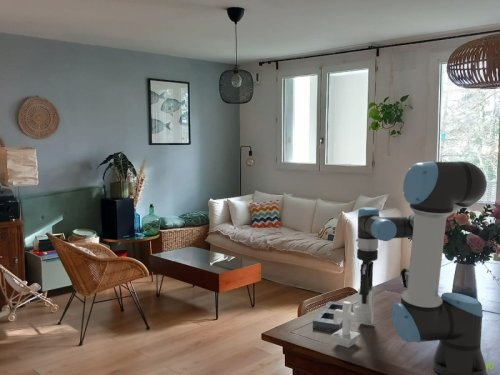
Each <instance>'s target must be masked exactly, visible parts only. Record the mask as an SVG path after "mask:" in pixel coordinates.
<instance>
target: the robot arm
mask: <svg viewBox="0 0 500 375" xmlns="http://www.w3.org/2000/svg"><path fill="white" fill-rule="evenodd" d="M487 183H488V182H487V177H486V175H485V173H484V172H483V171H482V169H481V168H479V166H477V165H475V164H474V163H471V162H468V161H424V162H416V163H414V164H412V165H411V167H410V168H408V170H407V171H406V173H405V175H404V179H403V185H402V192H403V197H404V198H405V201H406V202H407V203H409V209H410V210H411V211H413V213H411V214H410V215H407V216H389V217H386V216H385V217H383V216H380V213H379V212H380V211H379V209H378V208H376V207H372V206H371V207H370V206H369V207H368V206H367V207H366V206H364V207H363V206H362V207H360V208H359V209H358V211H357V212H358V213H357V214H358V215H357V238H356V239H355V241H356V242H357V249H356V258H357V259H358V260H359V261H362V264H360V270H359V272H360V280H359V282H360V284H359V287H360V293H359V295H361V311H362V312H368V304H369V295H368V288H369V286H372V287H374V286H373V278H374V276H373V275H374V261H377V260H378V259H379V257H378V255H379V251H378V248H379V241H381V242H382V241H383V242H389V241H392V240H393V239H407V238H410V239H411V247H410V257H409V258H410V259H409V268H408V269H409V277H408V287H407V288H406V290H404V291H402V293H401V295H400V302H399V301H397V302H395V303H394V304H393V305H392V307H391V318H392V322H393V323H392V324H393V327H394V329H395V331H396V333H397V335H398V336H399V337H400V339H401V340H403V341H404V342H406V343H417V344H419V343H421V342H422V343H423V342H436V341H439V342H438V344H437V347H436V350H435V352H434V355H433V357H432V368H433V369H434V371H435V372H436V373H438V374H440V375H486V374H487V366H486V362H485V359H484V355H483V353H482V350H481V348H482V345H481V344H482V328H483V327H482V326H483V317H484V316H483V314H484V313H483V305H482V303H481V301H480V300H478V299H476V298H474V297H471V296H468V295H466V294H461V293H457V292H443V293H442V294H441V295H439V286H440V279H441V278H440V277H441V271H442V270H441V269H442V260H443V252H444V242H445V236H446V234H445V232H446V225H447V224H446V223H447V218H449V217H450V216H451V215H453V214H454V213H456V212H457V211H458V210H460V209H462V208H469V207H471V206H472V205H474V204H476V203H477V202H479V200H481V199H482V197H483V196H484V195H485V192H487V187H488V186H487V185H488V184H487Z"/></svg>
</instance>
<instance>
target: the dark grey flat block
mask: <svg viewBox="0 0 500 375" xmlns="http://www.w3.org/2000/svg"><path fill="white" fill-rule="evenodd" d="M336 309H339V310H342V309H343V302H339V301H338V302H337V301H331V300H329V301H328V302H327V303H326V304H325V306H324V307H323V308H322V309H321V310H320V312H318V314H317V315H316V316H315V318H314V319H313V320H312V329H315V330H321V331H326V332H333V333H335V332H337V331H338V330H340V329H342V324H343V319H342V318H339V324H337V325H335V324H334V311H335V310H336ZM351 312H352V313H354V304H353V303H351Z"/></svg>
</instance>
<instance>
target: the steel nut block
mask: <svg viewBox="0 0 500 375" xmlns="http://www.w3.org/2000/svg"><path fill="white" fill-rule="evenodd" d="M357 291H358V293H357V294H358V296H357V306H359V307H360V319H359V321H358V322H357V323H359V324H366V325H372V323H373V321H374V313H375V312H374V310H375V309H374V308H375V307H374V306H375V286H369V288H368V295H369V304H368V312H362V311H361V295H359V293H360V286H359V288H358V290H357Z"/></svg>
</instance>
